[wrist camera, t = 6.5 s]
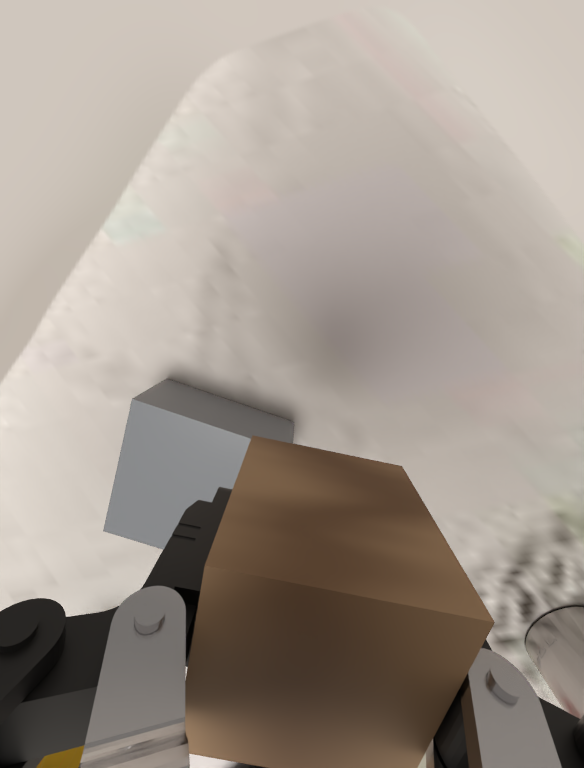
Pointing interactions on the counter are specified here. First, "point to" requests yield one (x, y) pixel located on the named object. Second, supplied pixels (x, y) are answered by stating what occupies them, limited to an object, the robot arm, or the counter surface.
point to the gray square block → (180, 457)
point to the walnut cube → (327, 617)
